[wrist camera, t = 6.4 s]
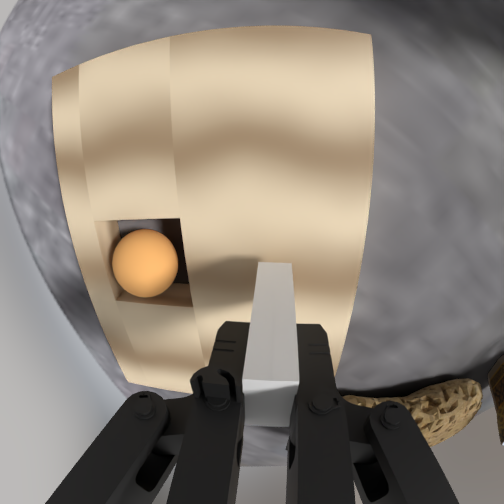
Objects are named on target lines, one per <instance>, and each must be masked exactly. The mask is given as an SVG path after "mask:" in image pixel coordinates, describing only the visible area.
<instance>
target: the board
mask: <svg viewBox="0 0 504 504" xmlns="http://www.w3.org/2000/svg"><path fill="white" fill-rule="evenodd" d="M52 114H53V131H54V143H55V152H56V161H57V168H58V175H59V181H60V187H61V193H62V198H63V203H64V208H65V213H66V217H67V221H68V226H69V230H70V234H71V238H72V241H73V245H74V249H75V252H76V256H77V259H78V262H79V266H80V269H81V272H82V275H83V278H84V281H85V284H86V287H87V290H88V293H89V296H90V298H91V301H92V304H93V306H94V309H95V311H96V314H97V316H98V319H99V321H100V324H101V326H102V329H103V331H104V333H105V335H106V338H107V340H108V342H109V344H110V347H111V349H112V351H113V353H114V355H115V357H116V359H117V361H118V363H119V365H120V367H121V369H122V371H123V373H124V375H125V377H126V379H127V381H128V382H131V383H135V384H140V385H145V386H150V387H155V388H161V389H166V390H172V391H179V392H185V393H192V394H193V391H192V388H191V384H190V379H191V377H192V376H193V374H194V373H195V372H196V371H198V370H199V369H200V368H203V367H206V366H208V364H209V360H210V357H211V353H212V350H213V346H214V342H215V338H216V334H217V331H218V329H219V328H220V327H221V325H222V324H223V323H224V322H225V321H236V322H250V321H251V313H252V306H253V299H254V291H255V284H256V277H257V269H258V262H273V263H292V273H293V286H294V298H295V312H296V323H297V324H320V325H321V326H322V327H323V329H324V330H325V331H326V332H327V336H328V341H329V347H330V355H331V358H332V364H333V370H334V377H335V374H336V371H337V368H338V364H339V361H340V357H341V353H342V350H343V346H344V342H345V338H346V334H347V330H348V326H349V322H350V317H351V313H352V309H353V304H354V299H355V294H356V289H357V284H358V279H359V274H360V268H361V262H362V256H363V250H364V244H365V237H366V230H367V222H368V214H369V205H370V195H371V184H372V172H373V156H374V132H375V87H374V64H373V50H372V38H371V35H370V34H365V33H359V32H353V31H346V30H338V29H329V28H319V27H305V26H246V27H232V28H221V29H213V30H205V31H198V32H192V33H186V34H180V35H175V36H170V37H166V38H161V39H157V40H153V41H149V42H145V43H141V44H137V45H134V46H130V47H127V48H124V49H121V50H118V51H114V52H111V53H109V54H106V55H103V56H100V57H97V58H95V59H92V60H90V61H87V62H85V63H82V64H80V65H77V66H75V67H73V68H70V69H68V70H66V71H64V72H62V73H60V74H57V75H55V76H53V77H52ZM163 218H180V222H181V230H182V237H183V245H184V252H185V259H186V265H187V272H188V278H189V284H179V283H172V284H171V285H170V287H169V288H168V289H166V290H165V291H164V292H162V293H161V294H159V295H156V296H153V297H138V296H135V295H132V294H130V293H129V292H127V291H126V290H124V289H123V288H122V287H121V285H120V284H119V283H118V281H117V280H116V278H115V275H114V272H113V266H112V260H113V254H114V251H115V248H116V246H117V245H118V243H119V242H120V241H121V237H120V232H119V227H118V222H117V220H132V219H163Z"/></svg>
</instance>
